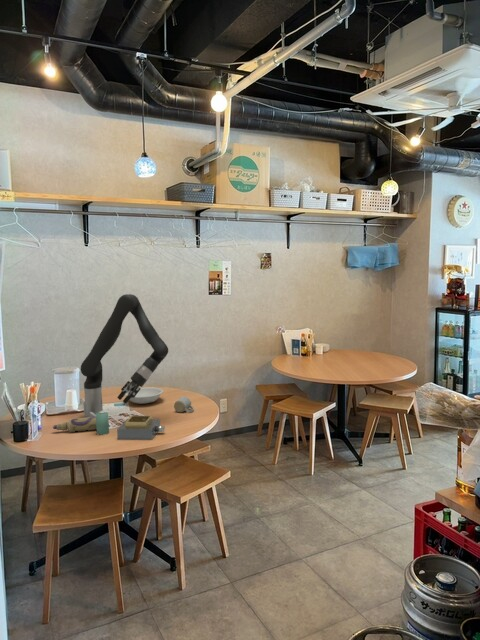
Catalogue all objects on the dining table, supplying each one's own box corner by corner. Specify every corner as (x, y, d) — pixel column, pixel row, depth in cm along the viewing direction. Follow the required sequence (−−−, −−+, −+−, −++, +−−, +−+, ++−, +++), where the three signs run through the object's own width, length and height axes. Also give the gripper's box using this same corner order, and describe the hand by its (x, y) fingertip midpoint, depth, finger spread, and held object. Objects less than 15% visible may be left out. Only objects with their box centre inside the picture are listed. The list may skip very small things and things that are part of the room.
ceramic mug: (173, 412, 266) (172, 399, 266) (179, 408, 274) (179, 395, 273) (190, 414, 263) (189, 401, 262) (196, 410, 271) (195, 397, 270)
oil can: (107, 430, 239) (105, 407, 238) (110, 433, 234) (109, 410, 233) (89, 433, 234) (88, 410, 233) (93, 437, 229) (91, 413, 228)
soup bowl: (171, 400, 292) (171, 389, 292) (144, 410, 272) (144, 399, 272) (143, 395, 305) (143, 385, 305) (115, 404, 285) (115, 394, 284)
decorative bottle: (106, 426, 246) (105, 413, 245) (105, 430, 238) (105, 418, 238) (54, 430, 240) (53, 418, 239) (52, 435, 233) (51, 422, 232)
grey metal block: (117, 439, 225) (116, 424, 224) (127, 428, 241) (127, 414, 240) (160, 439, 224) (159, 424, 223) (167, 428, 239) (167, 414, 239)
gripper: (131, 369, 248) (111, 393, 243) (141, 373, 236) (120, 399, 231) (141, 377, 251) (121, 401, 246) (152, 382, 239) (131, 408, 234)
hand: (121, 400), depth 239 cm, fingers open, 8 cm apart
